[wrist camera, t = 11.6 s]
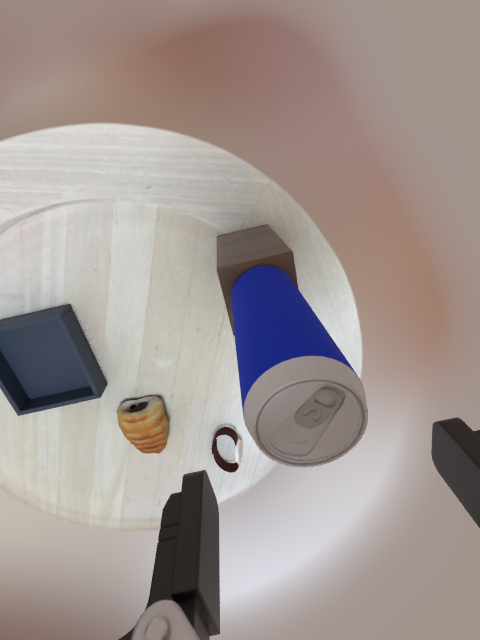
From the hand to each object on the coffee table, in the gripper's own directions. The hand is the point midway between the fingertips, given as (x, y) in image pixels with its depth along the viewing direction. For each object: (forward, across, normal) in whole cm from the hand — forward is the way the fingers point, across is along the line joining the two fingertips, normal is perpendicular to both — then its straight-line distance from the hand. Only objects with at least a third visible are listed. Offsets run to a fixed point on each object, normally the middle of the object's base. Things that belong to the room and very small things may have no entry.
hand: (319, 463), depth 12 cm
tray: (+31, +28, +7) cm, 42 cm away
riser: (+31, 0, 0) cm, 31 cm away
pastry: (+31, +19, +20) cm, 41 cm away
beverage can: (+17, 0, 0) cm, 17 cm away
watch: (+31, +9, +28) cm, 43 cm away
